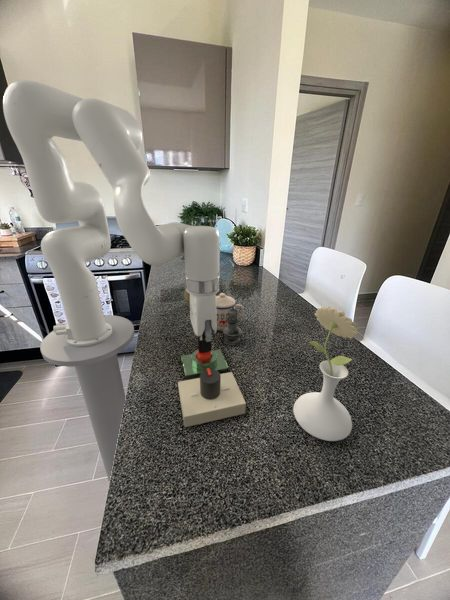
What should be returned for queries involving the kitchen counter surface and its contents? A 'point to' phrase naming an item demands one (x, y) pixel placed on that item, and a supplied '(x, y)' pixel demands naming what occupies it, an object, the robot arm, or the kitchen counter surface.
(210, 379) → the knob
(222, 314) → the teacup with lid
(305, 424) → the flower in vase
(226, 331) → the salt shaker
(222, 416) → the panel
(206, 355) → the button
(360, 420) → the kitchen counter surface
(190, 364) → the button box
